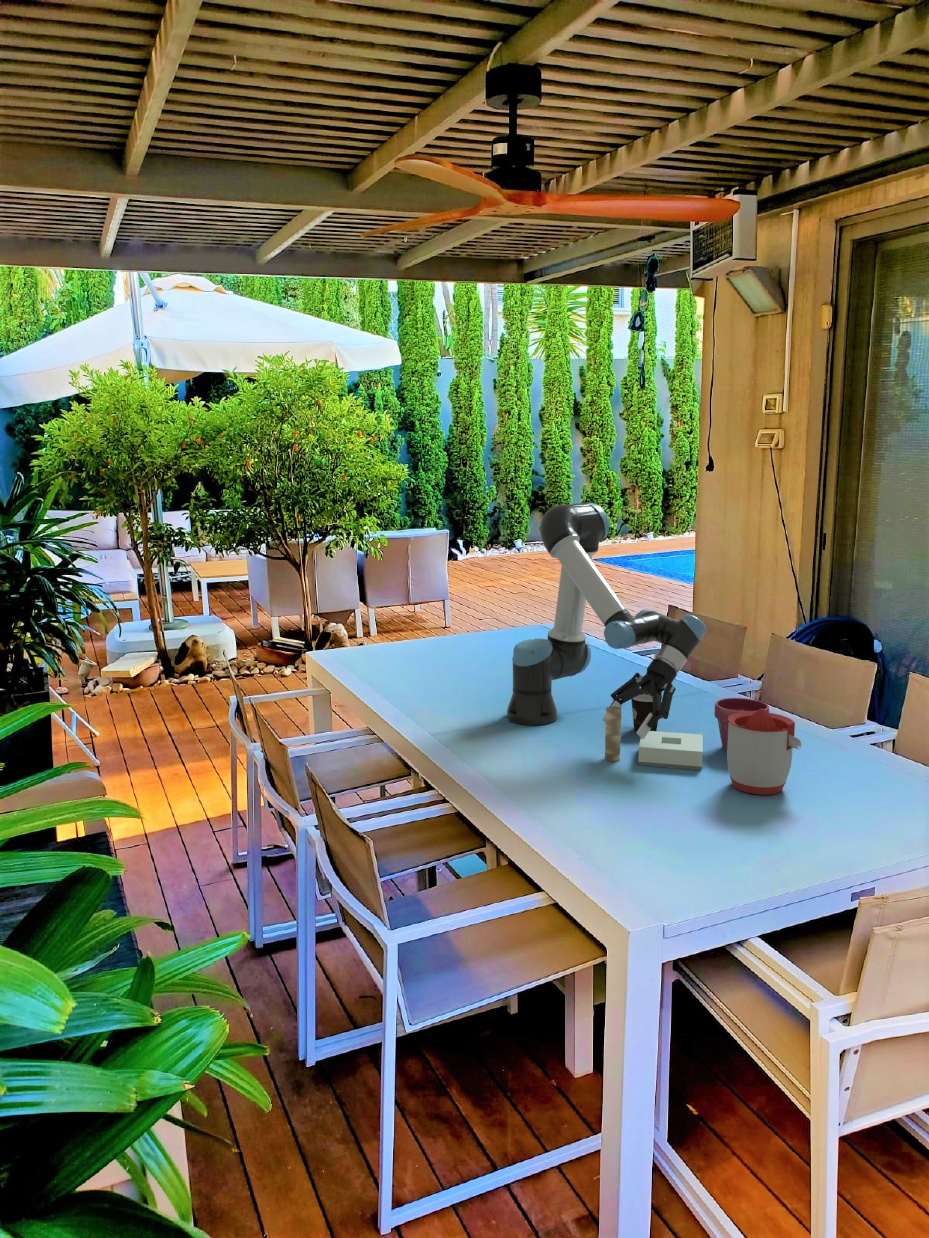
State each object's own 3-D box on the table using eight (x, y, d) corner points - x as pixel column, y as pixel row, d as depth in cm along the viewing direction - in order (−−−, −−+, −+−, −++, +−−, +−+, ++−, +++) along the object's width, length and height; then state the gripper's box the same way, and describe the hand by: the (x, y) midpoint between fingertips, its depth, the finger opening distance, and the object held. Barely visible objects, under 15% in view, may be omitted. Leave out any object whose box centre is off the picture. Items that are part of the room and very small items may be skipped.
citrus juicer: (789, 805, 220) (795, 723, 216) (715, 791, 229) (719, 711, 225) (805, 784, 233) (810, 706, 229) (734, 771, 242) (738, 695, 238)
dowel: (603, 761, 250) (605, 710, 247) (605, 756, 253) (606, 705, 251) (619, 762, 249) (620, 711, 246) (620, 757, 252) (622, 706, 250)
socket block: (638, 765, 246) (638, 746, 245) (641, 747, 260) (642, 730, 259) (701, 770, 243) (702, 751, 242) (701, 752, 256) (702, 734, 255)
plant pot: (730, 737, 268) (732, 693, 266) (776, 749, 258) (779, 703, 256) (702, 749, 258) (704, 704, 256) (749, 761, 249) (752, 715, 246)
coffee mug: (660, 736, 270) (661, 702, 268) (629, 734, 271) (630, 700, 269) (660, 723, 281) (661, 691, 279) (630, 722, 282) (631, 689, 280)
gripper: (707, 684, 246) (662, 750, 241) (641, 664, 266) (599, 725, 262) (692, 667, 242) (647, 734, 237) (627, 648, 263) (584, 709, 258)
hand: (622, 729), depth 249 cm, fingers open, 13 cm apart
